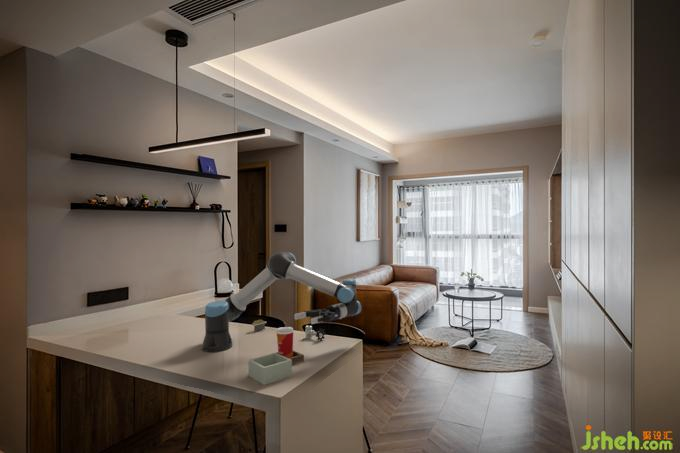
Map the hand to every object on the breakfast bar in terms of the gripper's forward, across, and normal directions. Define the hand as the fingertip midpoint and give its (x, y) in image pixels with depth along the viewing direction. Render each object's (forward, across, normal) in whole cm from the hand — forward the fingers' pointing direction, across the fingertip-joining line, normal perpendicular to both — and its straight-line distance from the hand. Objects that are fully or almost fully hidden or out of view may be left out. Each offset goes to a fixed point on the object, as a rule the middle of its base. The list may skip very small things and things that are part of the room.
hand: (302, 319), depth 174 cm
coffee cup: (+10, 0, -18) cm, 21 cm away
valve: (-21, +20, -18) cm, 34 cm away
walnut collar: (+10, 0, -18) cm, 20 cm away
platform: (-8, +60, -18) cm, 63 cm away
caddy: (+24, -10, -18) cm, 31 cm away
